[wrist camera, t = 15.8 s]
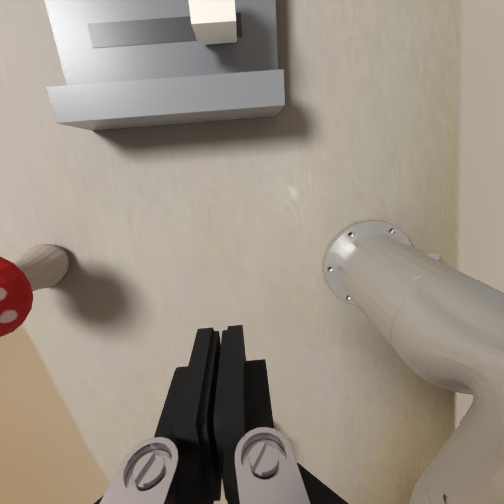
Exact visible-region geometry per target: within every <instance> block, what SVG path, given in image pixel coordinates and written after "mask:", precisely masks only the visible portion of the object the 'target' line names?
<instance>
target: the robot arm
mask: <svg viewBox="0 0 504 504" xmlns="http://www.w3.org/2000/svg"><path fill="white" fill-rule="evenodd" d="M389 230H390V231H389ZM350 232H351V234H350V235H348V234H349V233H350ZM439 259H440V256H439V253H437V252H426V253H423V252H421V251H419V250H417V249H415V248H413V247H412V244H411V242H410V240H409V238H408V237H407V235H406V234H405V233H404V232H403V231H402V230H400V229H399V228H398V227H396V226H394V225H392V224H389V223H386V222H383V221H375V220H372V221H364V222H360V223H356V224H354V225H352V226H350V227H348V228H347V229H345V230H344V231H342V232H341V233H340V234H339V235H338V236H337V237H336V238H335V239H334V240H333V242H332V243H331V244H330V246H329V248H328V250H327V252H326V254H325V258H324V264H323V272H324V278H325V280H326V283H327V285H328V286H329V288H330V290H331V291H332V292H333V293H334V294H335V295H336V296H337V297H338V298H339V299H341V300H343V301H344V302H346V303H350V304H353V305H357V306H358V307H359V308H360V309H361V310H362V312H363V313H364V314H365V315H366V316H367V318H368V319H369V320H370V321H371V323H372V324H373V325H374V326H375V327H376V329H377V330H378V331H379V332H380V334H381V335H382V336H383V337H384V338H385V340H386V341H387V342H388V343H389V345H390V346H391V347H392V348H393V349H394V351H395V352H396V353H397V354H398V356H399V357H400V358H401V359H402V360H403V361H404V363H405V364H406V365H407V366H408V367H409V368H410V369H411V370H412V371H413V372H414V373H415V374H417V375H418V376H419V377H420V378H422V379H424V380H425V381H427V382H429V383H431V384H433V385H435V386H438V387H440V388H443V389H447V390H450V391H455V392H459V393H465V394H472V395H474V398H473V402H472V405H471V407H470V409H469V410H468V411H467V413H466V415H465V416H464V417H463V419H462V420H461V422H460V425H459V426H458V428H457V429H456V430H455V432H454V433H453V434H452V435H451V437H450V438H449V439H448V441H447V442H446V443H445V444H444V446H443V447H442V448H441V450H440V451H439V452H438V453H437V455H436V456H435V457H434V459H433V460H432V461H431V463H430V464H429V465H428V467H427V468H426V469H425V471H424V472H423V473H422V475H421V477H420V478H419V480H418V481H417V483H416V485H415V487H414V489H413V492H412V495H411V499H410V504H504V293H503V292H501V291H499V290H497V289H495V288H493V287H491V286H488V285H487V284H484V283H482V282H480V281H478V280H476V279H474V278H472V277H470V276H468V275H466V274H464V273H462V272H460V271H458V270H456V269H454V268H452V267H450V266H448V265H446V264H444V263H442V262H440V261H439ZM329 267H330V268H329ZM328 268H329V269H328ZM222 482H223V488H224V494H225V499H226V500H227V502H228V504H348V503H347V502H346V501H344V500H343V499H342V498H341V497H339V496H338V495H337V494H336V493H334V492H333V491H332V490H331V489H330V488H328V487H327V486H326V485H325V484H323V483H322V482H321V481H320V480H318V479H317V478H316V477H315V476H313V475H312V474H311V473H310V472H308V471H307V470H306V469H305V468H303V467H302V466H301V465H300V464H298V463H297V462H296V459H295V456H294V453H293V450H292V447H291V445H290V443H289V441H288V439H287V438H286V437H285V436H284V435H283V434H282V433H281V432H279V431H277V430H275V429H274V425H273V417H272V409H271V401H270V393H269V385H268V377H267V370H266V362H265V359H263V360H253V361H246V356H245V346H244V336H243V327H242V325H237V326H228V330H224V331H223V332H222V341H221V343H220V336H219V331H214V330H213V328H203V329H198V331H197V334H196V338H195V342H194V346H193V350H192V354H191V358H190V362H189V366H187V367H177V368H176V370H175V372H174V376H173V379H172V382H171V385H170V388H169V391H168V395H167V398H166V401H165V404H164V407H163V410H162V414H161V417H160V420H159V423H158V426H157V430H156V433H155V436H154V438H150V439H148V440H145V441H143V442H141V443H140V444H138V445H137V446H135V447H134V448H133V449H132V450H131V451H130V452H129V453H128V454H127V455H126V457H125V458H124V460H123V461H122V463H121V464H120V466H119V468H118V470H117V472H116V474H115V475H114V477H113V479H112V481H111V483H110V485H109V487H108V489H107V491H106V492H105V494H104V496H102V498H100V499H99V500H98V501H97V502H95V503H94V504H214V501H220V499H221V486H222Z"/></svg>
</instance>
